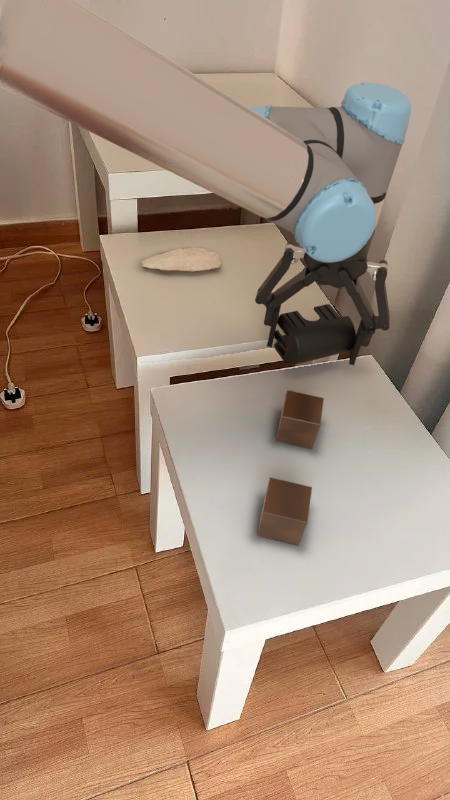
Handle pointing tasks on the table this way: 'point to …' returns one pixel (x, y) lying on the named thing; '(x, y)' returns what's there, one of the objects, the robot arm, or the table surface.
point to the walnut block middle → (300, 419)
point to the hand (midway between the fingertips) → (311, 350)
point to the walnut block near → (285, 511)
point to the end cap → (313, 335)
